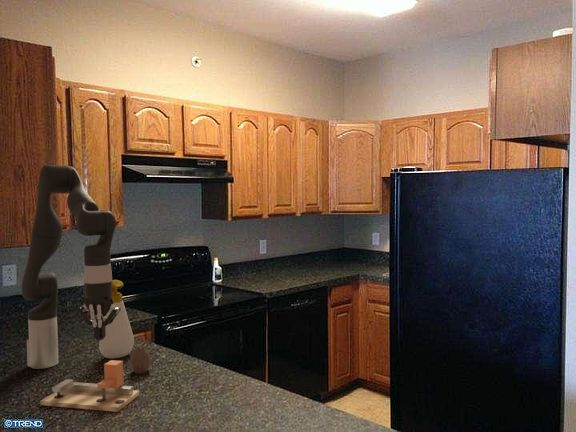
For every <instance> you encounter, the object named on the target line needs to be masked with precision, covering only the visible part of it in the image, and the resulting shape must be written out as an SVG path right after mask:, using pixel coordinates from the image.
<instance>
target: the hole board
mask: <svg viewBox="0 0 576 432" xmlns="http://www.w3.org/2000/svg"><path fill="white" fill-rule="evenodd" d="M140 394H141V393H140V390H138V389H137V390H134V389H133V394H131V395H130V396H126V395H114V394H105V395H106V399H105V400H102V393H89V392H77V391H64V390H62V391H60V397H57V392H53V393H51V394H49V395H48V396H46V397H44V398H43V399H41V400H40V401H39V405H40V406H48V407H59V408H60V407H61V408H69V409H70V408H71V409H72V408H73V409H82V410H92V411H93V410H95V411H104V412H105V411H106V412H114V413H115V412H116V413H118V412H120V411H121V410H122V409H124V408H125V407H126V406H127V405H128V404H130V403H131V402H132V401H134V400H135V399H136V398H137V397H138V396H140Z"/></svg>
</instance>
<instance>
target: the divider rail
mask: <svg viewBox="0 0 576 432" xmlns="http://www.w3.org/2000/svg"><path fill="white" fill-rule="evenodd" d="M97 384H98V383H92V382H78V381H74V379H69V378H67V379H64V380H63V381H61V382H59V383H57V384H55V385H54V386H53V387H51V389H52V390H51V391H52V392H53V393H54V392H57V397H60V391H62V390H64V391H77V392H89V393H102V388H98V385H97ZM133 390H134V386H131V385H121V386H120V387H118V388H105V394H114V395H126V396H130V395H131V394H133Z"/></svg>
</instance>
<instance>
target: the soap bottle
mask: <svg viewBox="0 0 576 432" xmlns="http://www.w3.org/2000/svg"><path fill="white" fill-rule="evenodd" d="M123 287H124V283H123V281H121V280H118V279H112V300H113V304H114V305H115V306H116V307H117V308H118V307H120V308H121V310H120V312H119V313H118V315H117V316H116V317H115V319H114V320H113V322H112V323H111V324H108V325H107V326H106V327H105V329H106V336H105V337H104V339H102V340H98V341H99V343H98V350H99V351H100V354H101V355H102V356H103V357H104V358H106V359H110V360H113V359H120V358H124V357H126V356H127V355H129V354H130V353H131V351H132V350H133V348H134V345H135V337H134V334H133V330H132V327H131V326H132V325H131V324H130V320H129V317H128V313H127V310H126V307H125V303H124V301H123V294H122V293H121V292H118V290H119V289H122V288H123ZM109 314H110V310H109V312H108V316H109Z"/></svg>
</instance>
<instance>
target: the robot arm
mask: <svg viewBox="0 0 576 432" xmlns="http://www.w3.org/2000/svg"><path fill="white" fill-rule="evenodd" d="M38 175H39V176H38V183H37V184H38V185H37V199H36V207H35V209H36V210H35V214H34V219H33V225H32V230H31V235H30V244H29V245H30V246H29V251H28V252H29V253H28V257H27V262H26V266H25V269H24V272H23V277H22V282H21V294H22V297H23V298H24V300H27V301H38V300H42V299H43V300H42V301H41V302H40V303H39V304H38V305H36V306H35V307H33V308H31V309H30V310H28V312H27V319H28V322H27V323H28V339H27V340H26V359H27V360H26V361H27V367H29V368H31V369H33V370H34V369H35V370H40V369H47V368H52V367H55V366H56V365H58V364H59V340H58V339H59V338H58V334H59V333H58V293H59V289H58V279H57V278H58V277H57V276H56V274H55V273H54V272H53V271H46V272H41V270H42V268H43V267H44V265H45V264H46V263H47V262H48V261H49V259H51V258H52V256H53V255H55V253H56V252H57V251H58V249H59V247H60V246H61V242H62V237H63V230H64V229H63V228H64V227H63V224H62V222H61V220H60V217H59V216H58V215H57V213H56V212H55V210H54V208H53V205H52V203H51V202H52V201H51V199H52V198H51V196H52V194H59V195H60V194H61V195H62V194H64V195H65V194H68V196H67V198H66V205H67V207H68V210H69V211H70V212H71V213H72V215H73V216H74V218H75V222H76V223H75V224H76V230H77V232H78V233H79V234H80V235H82V236H85V237H89V236H91V237H92V236H93V237H94V236H99V238H98V240H97V241H95V242H93V243H90V244H87V245H85V246H84V250H83V256H84V258H83V259H84V266H83V267H84V268H83V283H84V284H83V287H84V289H83V290H84V291H83V292H84V297H85V300H84V304H83V305H82V306H79V307H78V308H77V311H78V313H79V315H81V317H82V318H83V320H84V321H85V324H87V325H88V326H92V328H93V334H94V335H93V337H94V339H95V340H96V341H100V340H102V339H104V337H105V336H106V329H105V327H106V326H107V325H108V324H111V323H112V322H113V320H114V319H115V317H116V316H117V315H118V313H119V312H120V310H121V308H120V307H118V308H117V307H116V306H115V305H114V304H113V300H112V293H113V288H112V280H113V273H112V272H113V271H112V265H111V249H112V248H111V247H112V243H113V238H114V235H115V231H116V225H117V220H116V217H115V215H114V213H113V212H111V211H110V210H100V209H99V206H98V205H97V203H96V202H95V200H94V199H93V198H92V197H91V196H90V195H89V193H88V191H87V190H86V188H85V186H84V183H83V181H82V179H81V176H80V175H79V172H78V171H77V169H76V168H74V167H73V166H69V165H60V164H59V165H57V164H45V165H43V166H42V167H41V169H40V171H39V173H38ZM109 310H110V314H109V316H108V312H109Z"/></svg>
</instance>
